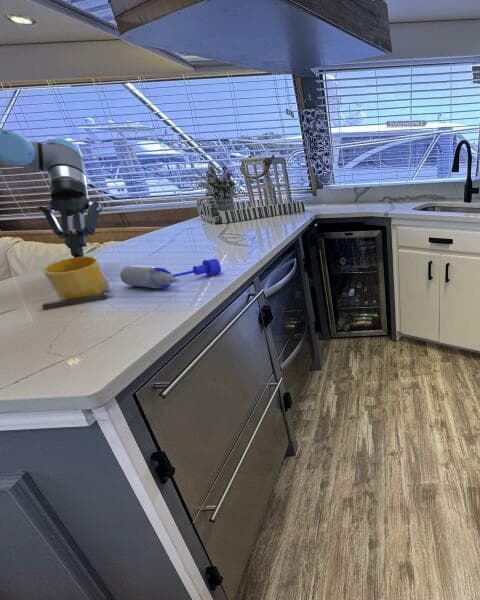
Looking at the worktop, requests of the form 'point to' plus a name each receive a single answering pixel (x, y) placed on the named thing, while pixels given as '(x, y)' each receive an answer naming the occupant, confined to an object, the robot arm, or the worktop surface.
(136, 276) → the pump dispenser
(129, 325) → the worktop surface
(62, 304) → the stop bar
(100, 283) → the bowl
